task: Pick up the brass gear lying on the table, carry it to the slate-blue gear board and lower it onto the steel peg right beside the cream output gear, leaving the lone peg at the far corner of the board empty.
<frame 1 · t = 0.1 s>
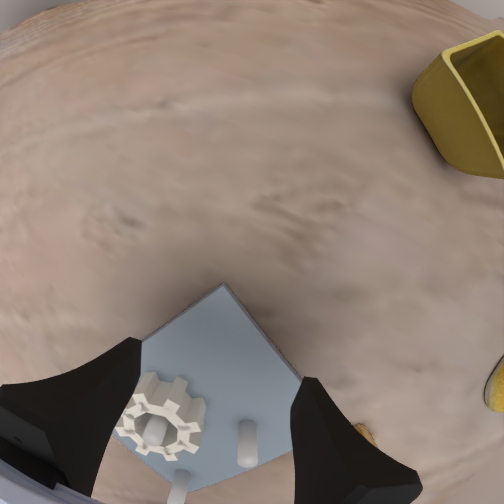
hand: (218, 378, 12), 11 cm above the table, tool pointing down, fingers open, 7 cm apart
gear board: (199, 410, 24), on the table
output gear: (165, 406, 23), resting on gear board
flower pot: (442, 122, 21), on the table
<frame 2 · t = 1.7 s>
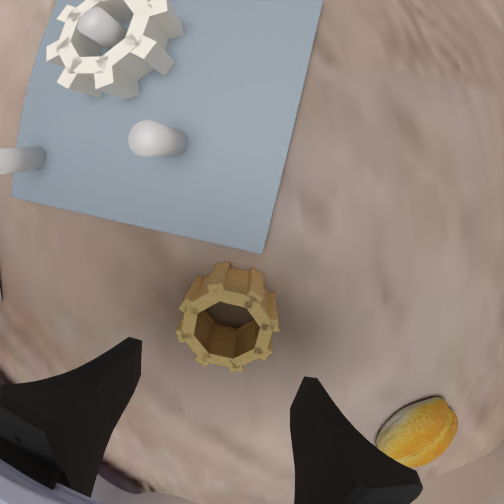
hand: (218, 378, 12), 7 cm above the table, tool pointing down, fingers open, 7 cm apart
gear board: (144, 89, 16), on the table
output gear: (126, 45, 14), resting on gear board
brass gear: (231, 303, 20), on the table
bread roll: (414, 424, 24), on the table
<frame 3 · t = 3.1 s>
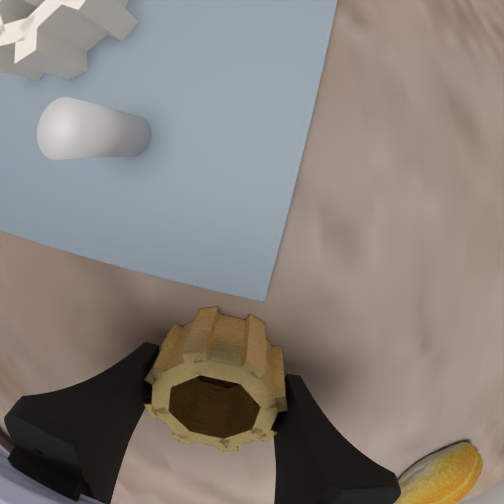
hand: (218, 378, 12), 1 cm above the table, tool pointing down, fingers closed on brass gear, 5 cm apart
gear board: (99, 64, 10), on the table
output gear: (76, 9, 8), resting on gear board
brass gear: (222, 359, 14), on the table, touching gripper
bread roll: (435, 468, 18), on the table
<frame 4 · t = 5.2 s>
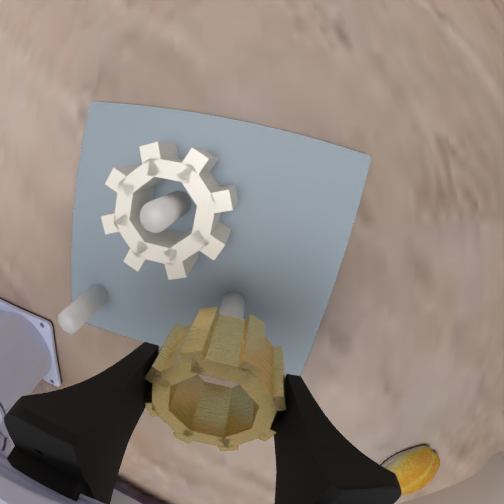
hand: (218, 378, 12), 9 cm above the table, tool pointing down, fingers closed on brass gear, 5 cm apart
gear board: (199, 242, 20), on the table
output gear: (179, 203, 18), resting on gear board
brass gear: (223, 359, 14), point 7 cm above the table, touching gripper
bread roll: (405, 462, 28), on the table
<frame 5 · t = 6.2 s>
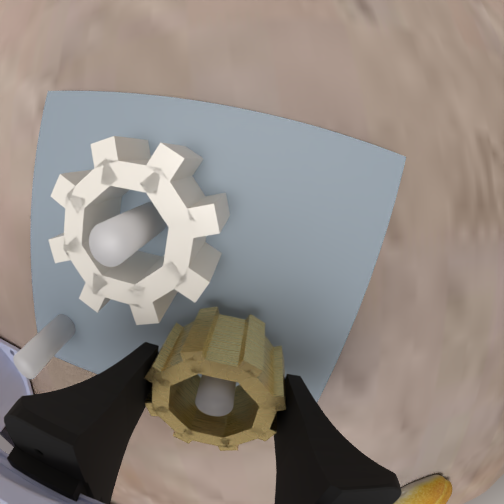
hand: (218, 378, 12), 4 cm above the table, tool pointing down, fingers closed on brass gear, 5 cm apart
gear board: (181, 267, 15), on the table
output gear: (152, 218, 13), resting on gear board
brass gear: (223, 359, 14), point 3 cm above the table, touching gripper
bread roll: (415, 490, 23), on the table
when the fingers open (4 cm above the table, at t = 7.2 s): brass gear drops 1 cm, resting on gear board.
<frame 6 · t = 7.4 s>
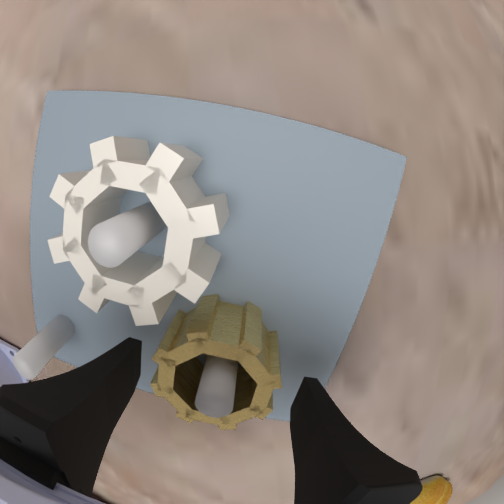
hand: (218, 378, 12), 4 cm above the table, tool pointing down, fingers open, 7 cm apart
gear board: (181, 268, 15), on the table
output gear: (152, 218, 13), resting on gear board
brass gear: (222, 344, 15), point 1 cm above the table, touching gear board
bread roll: (415, 491, 23), on the table
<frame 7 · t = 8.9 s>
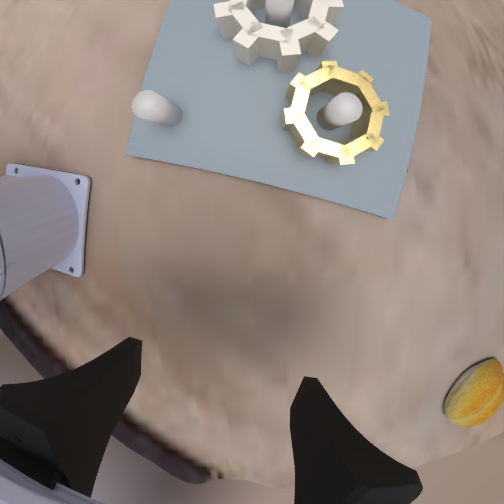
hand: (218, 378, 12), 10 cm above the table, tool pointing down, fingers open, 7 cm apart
gear board: (290, 67, 17), on the table
output gear: (276, 25, 16), resting on gear board
brass gear: (326, 118, 17), point 1 cm above the table, touching gear board
bread roll: (472, 387, 25), on the table
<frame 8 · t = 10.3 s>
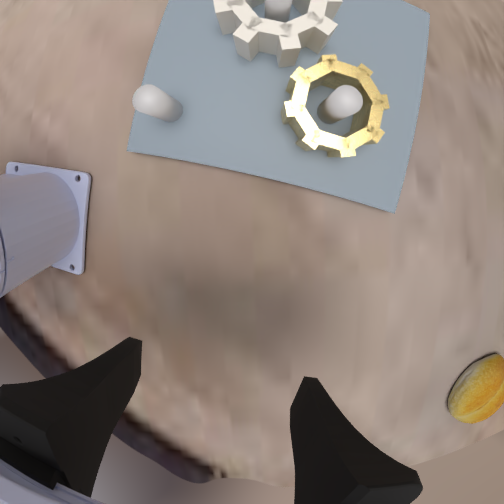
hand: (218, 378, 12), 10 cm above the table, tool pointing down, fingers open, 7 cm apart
gear board: (289, 62, 17), on the table
output gear: (276, 20, 15), resting on gear board
brass gear: (326, 112, 17), point 1 cm above the table, touching gear board
bread roll: (475, 382, 25), on the table
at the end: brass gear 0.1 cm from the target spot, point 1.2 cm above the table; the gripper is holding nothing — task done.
